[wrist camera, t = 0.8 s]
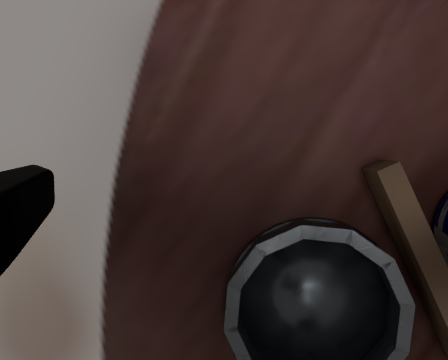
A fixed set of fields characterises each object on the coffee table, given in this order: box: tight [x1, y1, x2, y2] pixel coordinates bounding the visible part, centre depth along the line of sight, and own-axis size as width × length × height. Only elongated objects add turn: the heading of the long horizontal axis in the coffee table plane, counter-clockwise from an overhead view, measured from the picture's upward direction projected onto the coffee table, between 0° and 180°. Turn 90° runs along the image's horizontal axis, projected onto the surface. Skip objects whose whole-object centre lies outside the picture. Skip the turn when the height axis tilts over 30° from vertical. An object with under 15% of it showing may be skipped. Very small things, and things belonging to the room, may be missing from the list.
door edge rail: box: [362, 160, 448, 357], centre depth 18 cm, size 10×1×2 cm, turn 26°
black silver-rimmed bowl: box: [224, 218, 415, 360], centre depth 19 cm, size 8×8×2 cm
